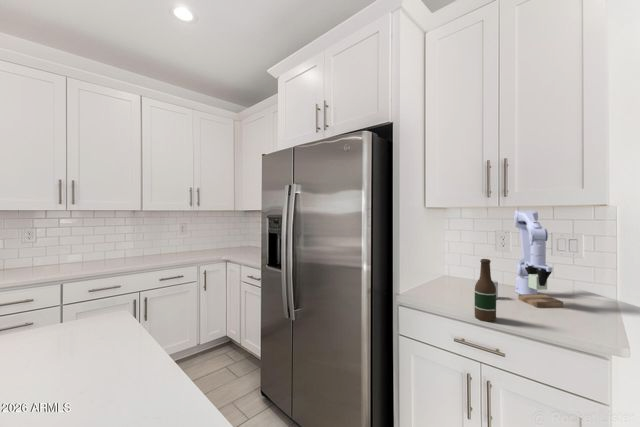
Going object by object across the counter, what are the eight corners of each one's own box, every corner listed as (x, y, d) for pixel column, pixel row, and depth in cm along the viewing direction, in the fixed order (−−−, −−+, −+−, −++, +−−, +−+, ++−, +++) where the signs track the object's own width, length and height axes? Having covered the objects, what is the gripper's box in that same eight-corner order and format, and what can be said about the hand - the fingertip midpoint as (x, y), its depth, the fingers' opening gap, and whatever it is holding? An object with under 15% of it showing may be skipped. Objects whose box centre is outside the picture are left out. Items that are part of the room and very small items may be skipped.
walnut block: (518, 300, 146) (518, 294, 146) (542, 300, 146) (542, 294, 146) (537, 308, 134) (537, 302, 134) (563, 308, 134) (563, 301, 134)
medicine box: (493, 296, 151) (493, 279, 151) (498, 299, 147) (498, 281, 147) (477, 296, 152) (477, 279, 152) (481, 298, 148) (481, 281, 148)
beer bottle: (488, 323, 116) (488, 261, 115) (470, 317, 123) (470, 258, 122) (500, 320, 119) (501, 259, 119) (482, 314, 126) (482, 257, 126)
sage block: (528, 286, 141) (528, 274, 141) (538, 286, 141) (538, 274, 141) (536, 289, 136) (536, 276, 136) (547, 289, 136) (547, 276, 136)
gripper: (518, 252, 146) (518, 280, 146) (541, 257, 131) (541, 288, 131) (532, 252, 146) (532, 280, 146) (557, 257, 131) (557, 288, 132)
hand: (537, 284), depth 139 cm, fingers closed on sage block, 5 cm apart
